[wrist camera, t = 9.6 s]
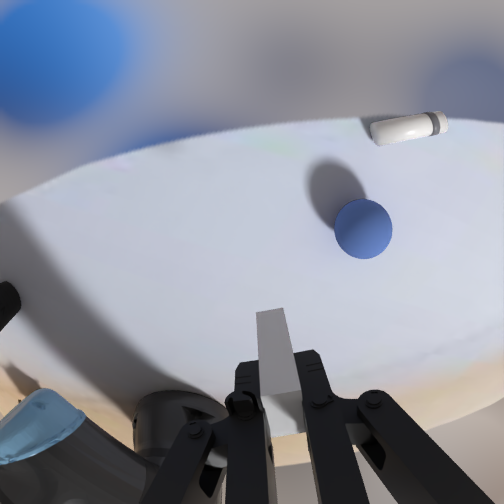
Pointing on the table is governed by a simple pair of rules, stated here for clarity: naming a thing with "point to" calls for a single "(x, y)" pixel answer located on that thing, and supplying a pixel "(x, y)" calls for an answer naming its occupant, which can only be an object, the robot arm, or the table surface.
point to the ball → (363, 229)
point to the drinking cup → (8, 303)
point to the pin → (408, 127)
